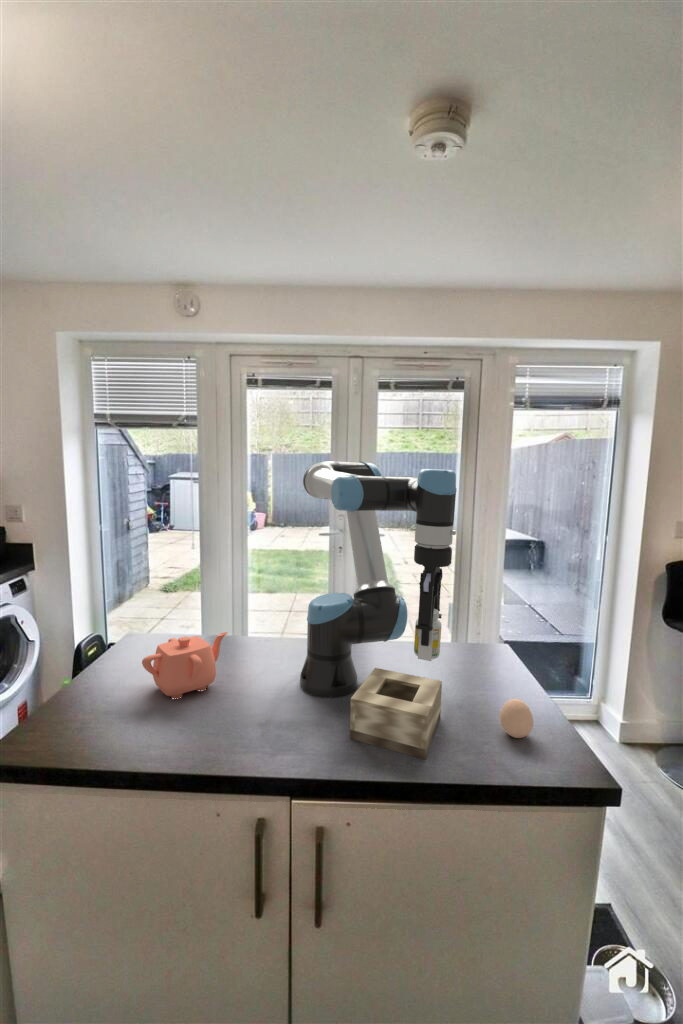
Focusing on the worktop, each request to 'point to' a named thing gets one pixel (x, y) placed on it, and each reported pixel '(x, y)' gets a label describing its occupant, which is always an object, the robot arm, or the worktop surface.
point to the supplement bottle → (436, 636)
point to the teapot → (184, 664)
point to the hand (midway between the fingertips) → (427, 653)
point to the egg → (516, 718)
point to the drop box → (396, 712)
